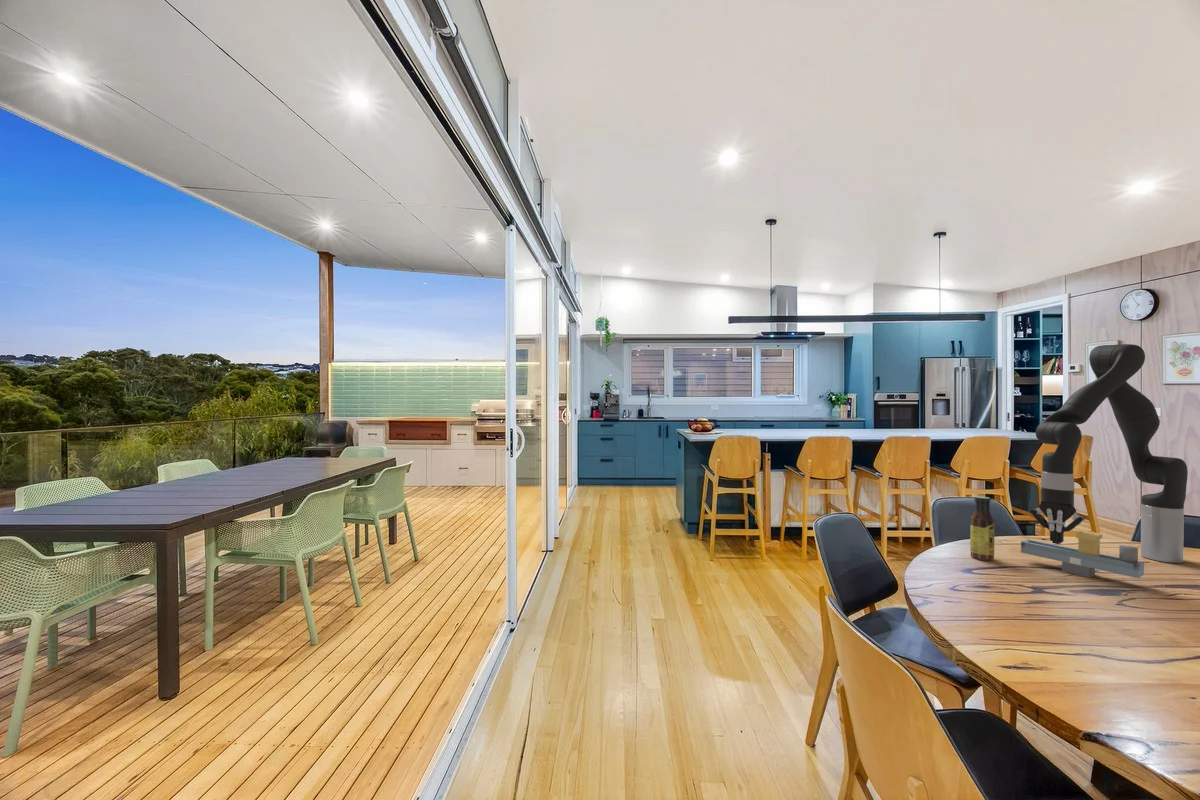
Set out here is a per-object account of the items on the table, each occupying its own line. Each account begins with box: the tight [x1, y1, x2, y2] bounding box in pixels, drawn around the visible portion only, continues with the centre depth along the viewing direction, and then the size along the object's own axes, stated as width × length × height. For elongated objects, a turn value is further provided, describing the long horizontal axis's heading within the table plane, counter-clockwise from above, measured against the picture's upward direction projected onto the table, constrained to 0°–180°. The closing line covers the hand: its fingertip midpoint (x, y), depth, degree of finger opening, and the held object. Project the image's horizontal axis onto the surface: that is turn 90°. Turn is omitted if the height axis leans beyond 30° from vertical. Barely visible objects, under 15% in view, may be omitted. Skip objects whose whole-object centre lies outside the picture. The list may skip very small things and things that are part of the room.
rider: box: [1075, 530, 1103, 557], centre depth 147 cm, size 4×6×7 cm, turn 121°
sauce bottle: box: [969, 495, 995, 561], centre depth 162 cm, size 6×6×20 cm
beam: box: [1020, 538, 1145, 579], centre depth 149 cm, size 26×5×10 cm, turn 31°
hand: (1056, 543), depth 153 cm, fingers closed
